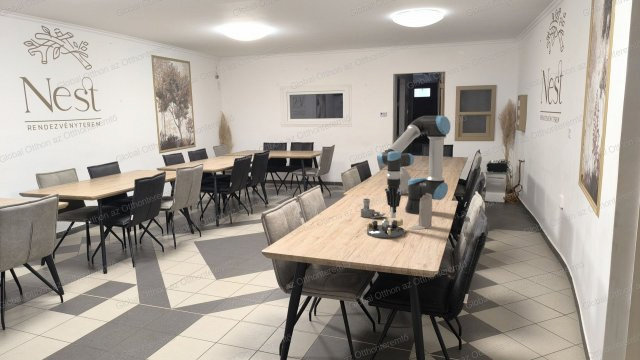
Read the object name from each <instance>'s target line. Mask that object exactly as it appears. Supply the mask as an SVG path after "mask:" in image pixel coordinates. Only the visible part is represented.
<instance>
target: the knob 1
mask: <svg viewBox="0 0 640 360" xmlns="http://www.w3.org/2000/svg"><path fill="white" fill-rule="evenodd" d="M378 225H379V224H378V220H372V221H371V222H367V223H366V230H367V229H372V228H373V229H377V228H378Z"/></svg>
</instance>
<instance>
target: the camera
mask: <svg viewBox="0 0 640 360" xmlns="http://www.w3.org/2000/svg"><path fill="white" fill-rule="evenodd" d="M362 203H363V208H361V209H360V218H368V219H378V218H382V217H383V216H384V217H385V215H386V213H385V212H384V213H383V212H382V213H380V211H376V210H375V209H373V208H370V203H371V199H370V198H364V199H363V200H362Z"/></svg>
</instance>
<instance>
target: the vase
mask: <svg viewBox="0 0 640 360" xmlns="http://www.w3.org/2000/svg"><path fill="white" fill-rule="evenodd" d="M405 167H406V166H405ZM405 167H401V170H400V171H401V175H400V185H399V190H400V191H402V195H401V196H404V195H406V194H408V181H409V180H410V179H412V177H411V174H410V173H409V172H408V170H407V169H406V168H405Z"/></svg>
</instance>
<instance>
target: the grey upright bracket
mask: <svg viewBox="0 0 640 360" xmlns="http://www.w3.org/2000/svg"><path fill="white" fill-rule="evenodd" d="M432 215H433V199H432V195H431V194H429V193H426V195H423V197H422V198H420V211H419V214H418V224H417V225H413V226H411V227H409V229H411V230H425V228H426V229H431V228H432V227H433V226H432V221H433V219H432V218H433V216H432ZM430 227H431V228H430Z"/></svg>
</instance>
